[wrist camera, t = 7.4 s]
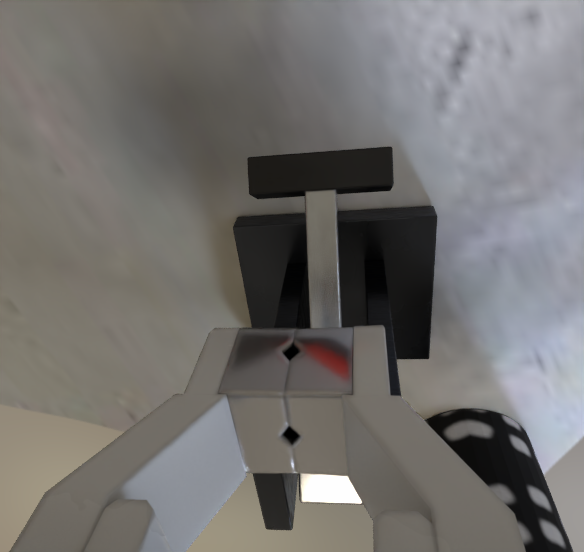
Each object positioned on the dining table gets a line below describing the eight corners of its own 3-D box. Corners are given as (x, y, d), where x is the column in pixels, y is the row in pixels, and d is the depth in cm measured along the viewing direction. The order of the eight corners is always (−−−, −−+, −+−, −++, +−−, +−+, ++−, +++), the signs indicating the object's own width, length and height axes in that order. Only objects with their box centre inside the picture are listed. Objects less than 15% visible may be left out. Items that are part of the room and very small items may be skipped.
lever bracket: (237, 216, 25) (152, 399, 14) (433, 205, 24) (505, 398, 13) (261, 348, 30) (211, 560, 19) (426, 345, 28) (474, 573, 17)
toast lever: (258, 166, 18) (243, 153, 16) (388, 157, 18) (393, 142, 15) (271, 471, 19) (259, 502, 17) (400, 474, 18) (406, 507, 16)
